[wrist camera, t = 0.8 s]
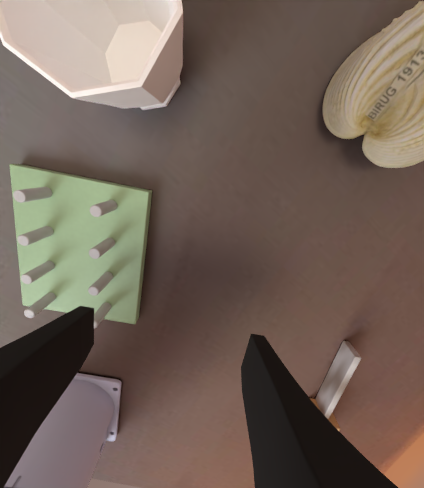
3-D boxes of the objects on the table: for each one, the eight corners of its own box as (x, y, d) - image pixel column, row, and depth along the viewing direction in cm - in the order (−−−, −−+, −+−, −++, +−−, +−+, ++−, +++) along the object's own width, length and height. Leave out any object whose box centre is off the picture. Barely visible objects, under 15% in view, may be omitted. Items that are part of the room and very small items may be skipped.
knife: (311, 430, 26) (322, 460, 23) (293, 427, 26) (302, 457, 23) (356, 342, 22) (376, 367, 19) (335, 338, 22) (351, 362, 19)
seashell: (287, 108, 13) (440, -127, 8) (325, 106, 19) (429, -29, 13) (398, 200, 12) (687, 1, 6) (403, 168, 18) (557, 48, 12)
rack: (138, 317, 21) (124, 345, 18) (31, 299, 21) (-4, 324, 17) (152, 190, 17) (137, 196, 14) (20, 164, 17) (-27, 163, 14)
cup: (90, 116, 16) (-27, 69, 8) (105, -79, 13) (-65, -459, 5) (188, 144, 16) (163, 124, 9) (226, -38, 13) (240, -325, 5)
